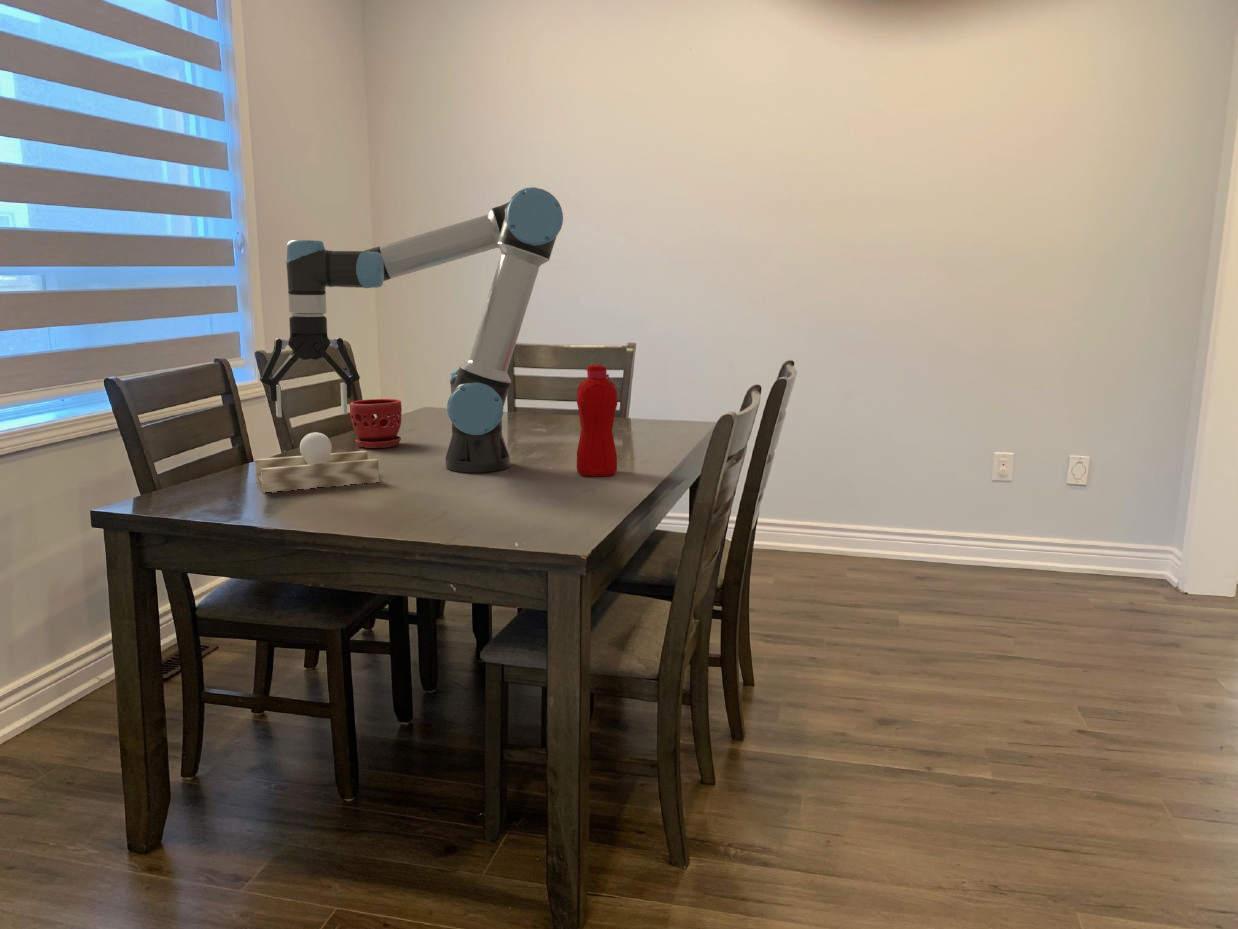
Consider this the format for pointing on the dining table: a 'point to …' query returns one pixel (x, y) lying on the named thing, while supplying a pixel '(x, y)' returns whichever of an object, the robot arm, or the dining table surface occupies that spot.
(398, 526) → the dining table surface
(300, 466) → the beige chevron holder
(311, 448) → the light bulb
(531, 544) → the dining table surface
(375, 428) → the plant pot
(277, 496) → the dining table surface
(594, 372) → the water bottle
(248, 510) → the dining table surface
